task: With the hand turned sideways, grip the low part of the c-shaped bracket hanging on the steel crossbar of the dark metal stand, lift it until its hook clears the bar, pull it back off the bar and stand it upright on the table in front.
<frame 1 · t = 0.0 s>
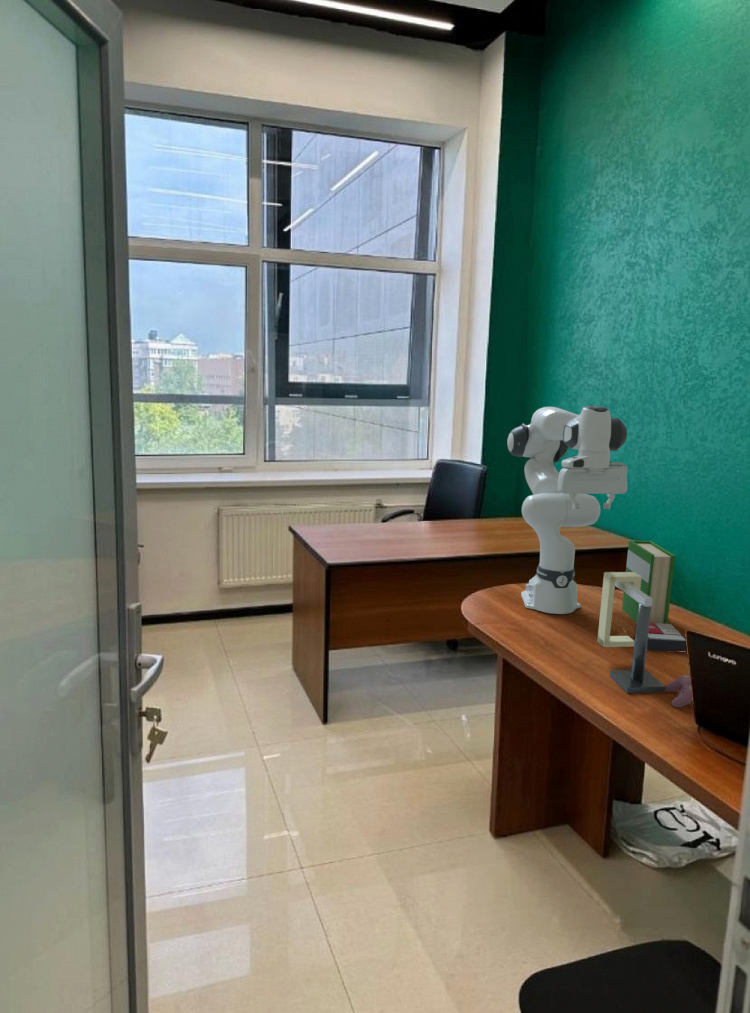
hand: (591, 509, 205), 39 cm above the table, tool pointing down, fingers open, 8 cm apart
hardback book: (643, 619, 227), on the table
video game controller: (680, 701, 172), on the table
calculator: (659, 643, 209), on the table
c-shaped bracket: (603, 644, 193), point 5 cm above the table, touching hook stand
hook stand: (636, 683, 180), on the table
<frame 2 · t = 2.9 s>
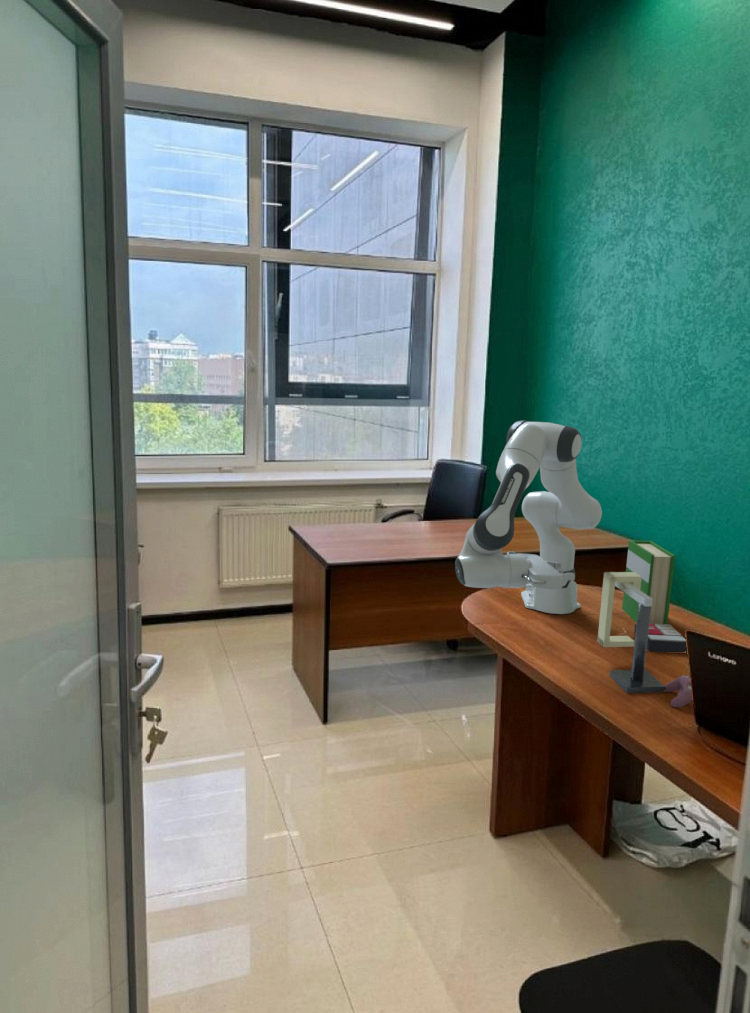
hand: (567, 571, 187), 26 cm above the table, tool horizontal, fingers open, 8 cm apart
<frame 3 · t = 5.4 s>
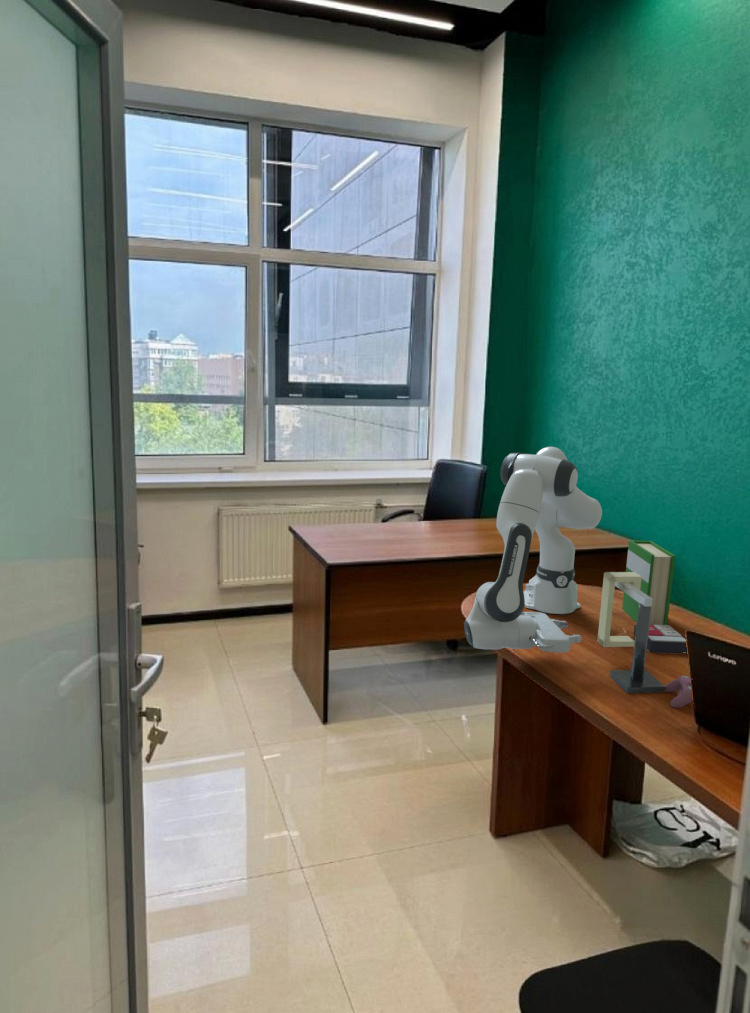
hand: (573, 631, 191), 9 cm above the table, tool horizontal, fingers open, 8 cm apart
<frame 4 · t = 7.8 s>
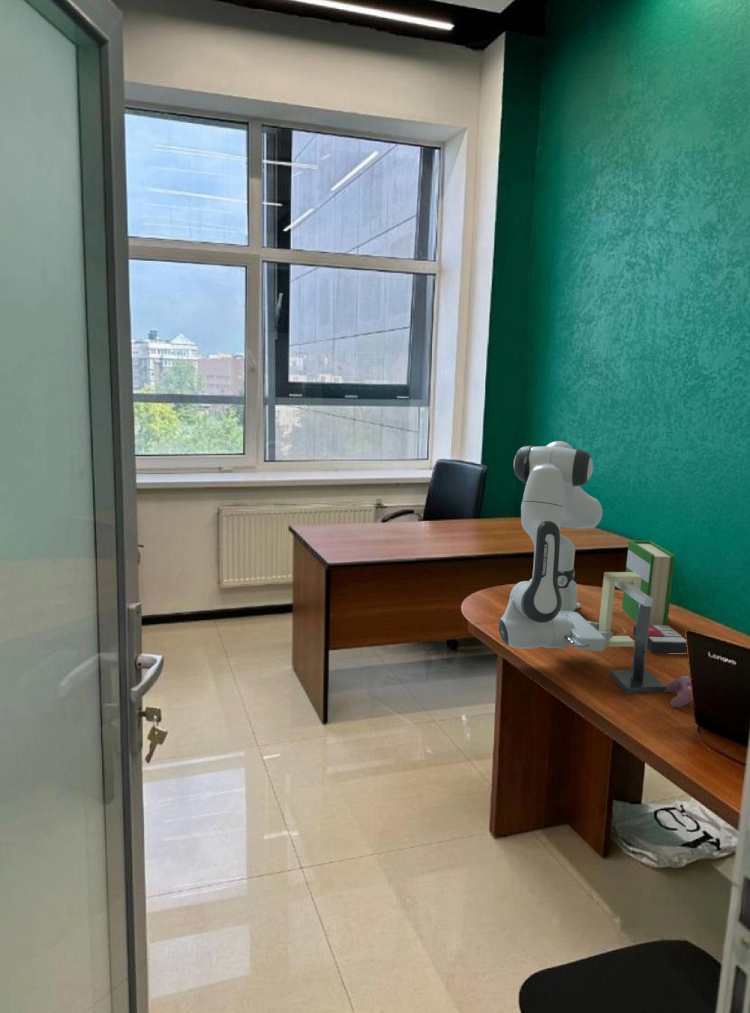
hand: (607, 630, 192), 9 cm above the table, tool horizontal, fingers closed on c-shaped bracket, 4 cm apart
c-shaped bracket: (602, 644, 193), point 5 cm above the table, touching gripper, hook stand
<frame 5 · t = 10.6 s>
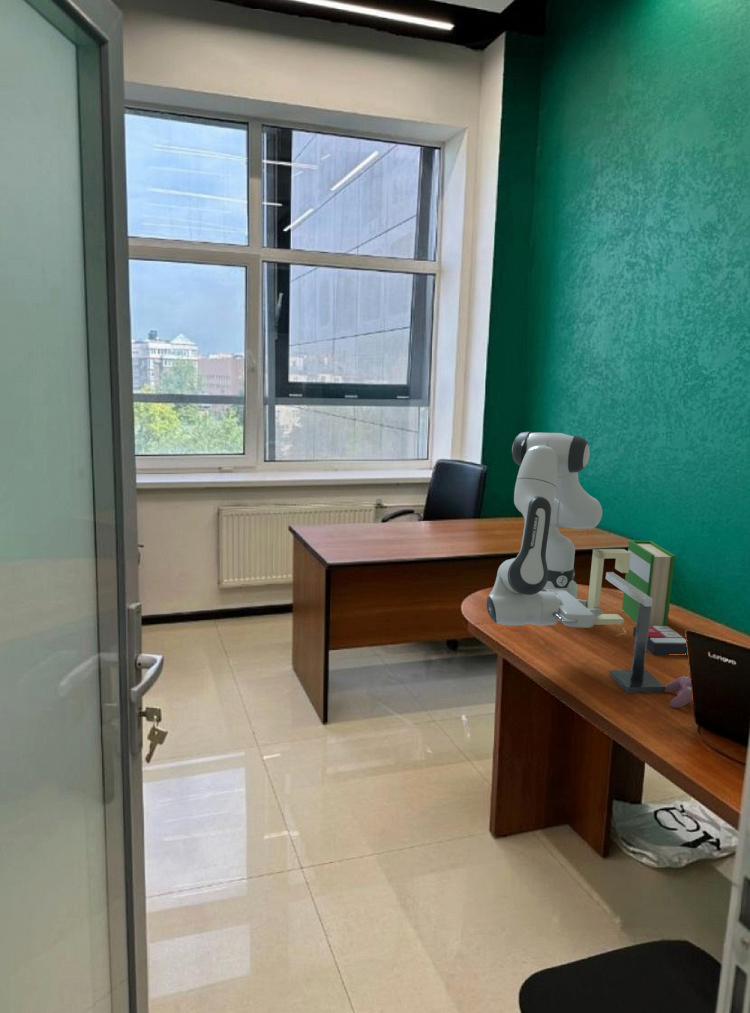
hand: (596, 607, 190), 16 cm above the table, tool horizontal, fingers closed on c-shaped bracket, 4 cm apart
c-shaped bracket: (591, 621, 191), point 12 cm above the table, touching gripper
when the fingers open (6 cm above the table, at t = 13.5 s): c-shaped bracket drops 2 cm, on the table.
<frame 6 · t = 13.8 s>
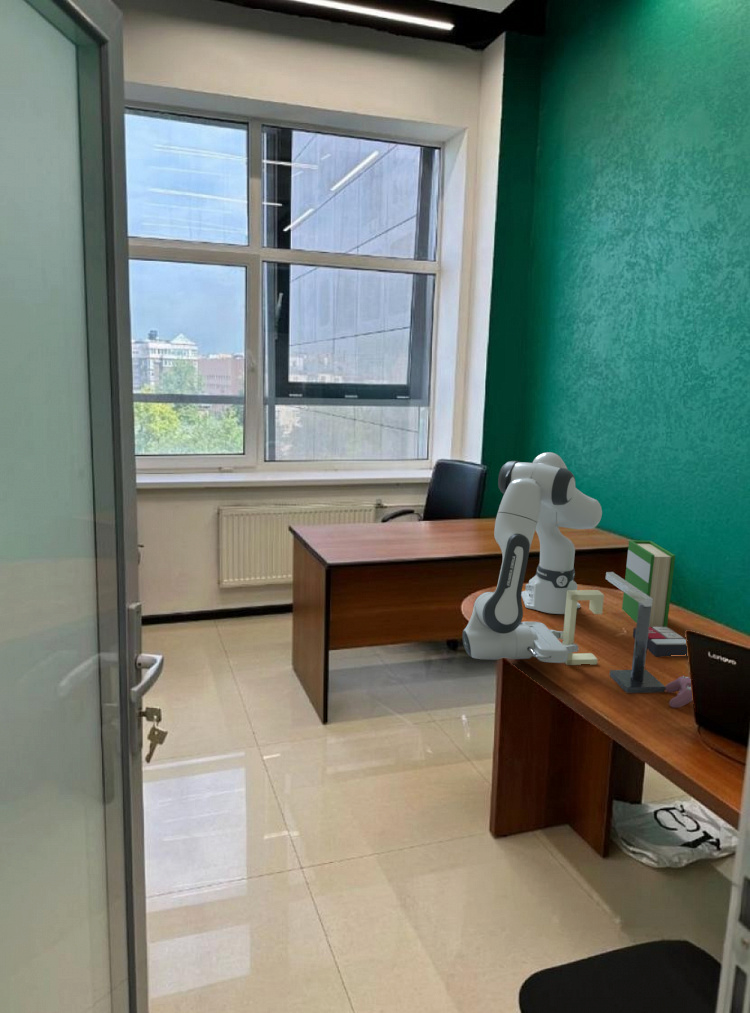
hand: (571, 641, 191), 6 cm above the table, tool horizontal, fingers open, 7 cm apart
video game controller: (679, 701, 172), on the table, touching hook stand
c-shaped bracket: (566, 661, 192), on the table
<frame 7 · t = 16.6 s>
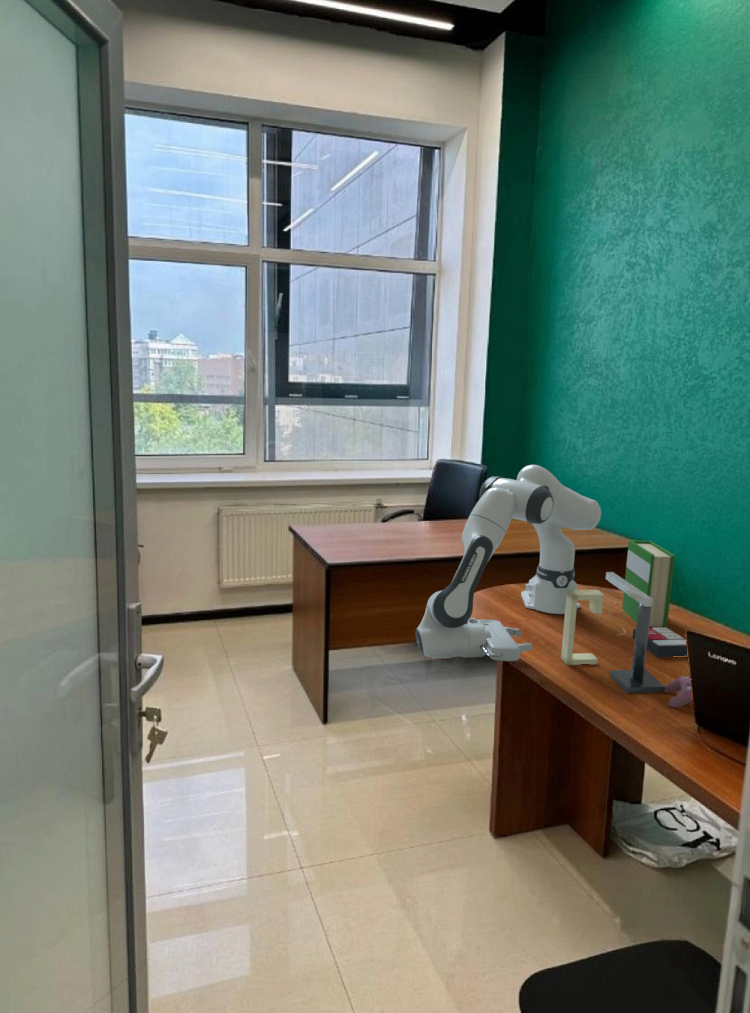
hand: (525, 639, 190), 7 cm above the table, tool horizontal, fingers open, 8 cm apart
video game controller: (679, 701, 172), on the table
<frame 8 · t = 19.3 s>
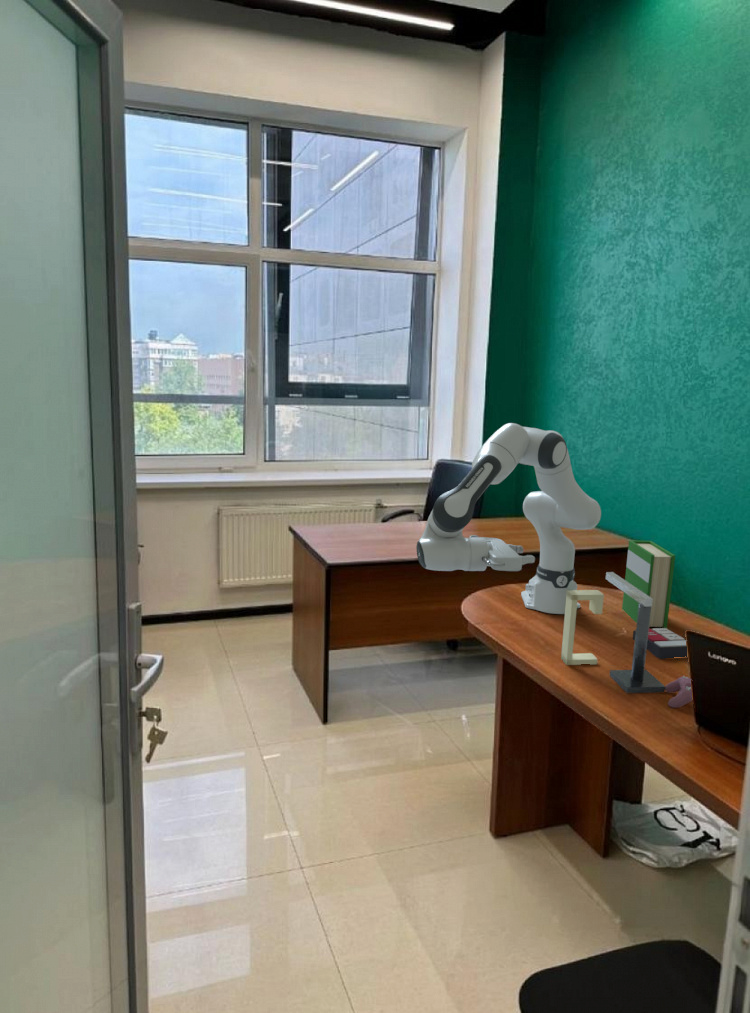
hand: (528, 554, 188), 30 cm above the table, tool horizontal, fingers open, 8 cm apart
at the end: c-shaped bracket inside the target area (0.1 cm from its centre), on the table; c-shaped bracket touching table; c-shaped bracket tilted 0° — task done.
